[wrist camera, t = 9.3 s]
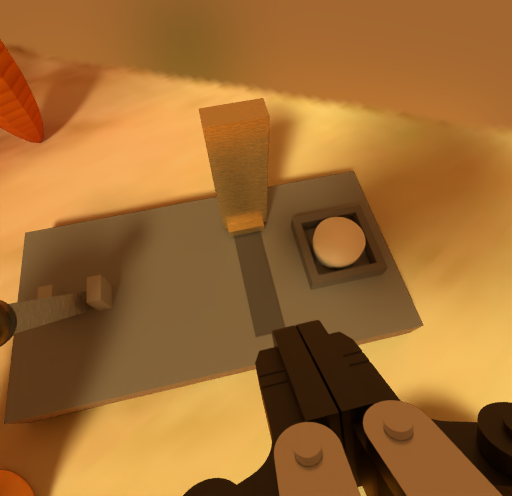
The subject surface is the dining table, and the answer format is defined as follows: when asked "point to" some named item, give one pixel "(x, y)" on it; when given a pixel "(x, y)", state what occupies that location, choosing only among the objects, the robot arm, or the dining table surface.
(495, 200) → the dining table surface
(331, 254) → the push button
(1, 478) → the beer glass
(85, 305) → the toggle lever
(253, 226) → the block
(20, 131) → the carrot
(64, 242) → the switch panel
